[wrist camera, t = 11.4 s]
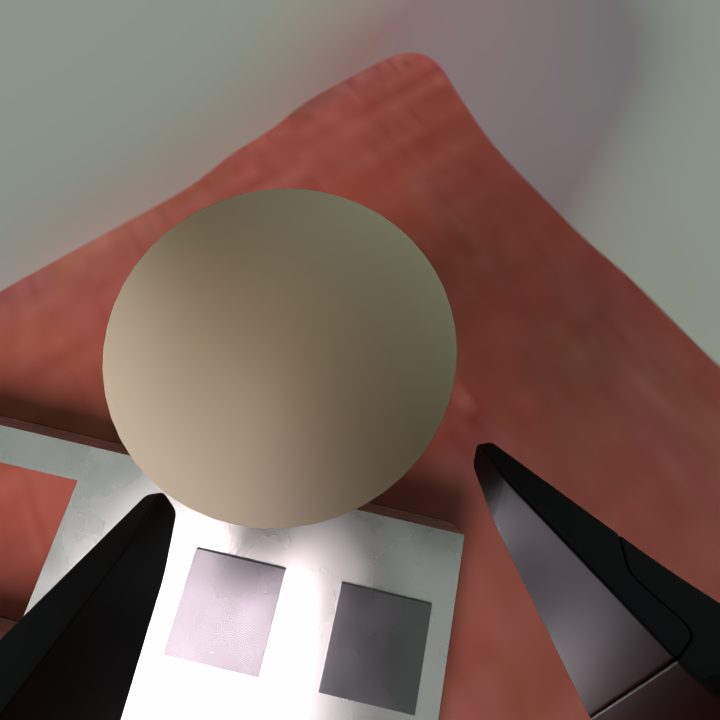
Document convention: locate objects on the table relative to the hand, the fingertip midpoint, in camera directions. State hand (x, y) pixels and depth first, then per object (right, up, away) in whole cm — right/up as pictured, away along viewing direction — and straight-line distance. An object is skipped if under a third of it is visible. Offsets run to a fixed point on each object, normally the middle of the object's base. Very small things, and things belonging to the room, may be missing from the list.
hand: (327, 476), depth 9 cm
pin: (-1, +1, +8) cm, 8 cm away
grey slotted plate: (-8, -7, +6) cm, 12 cm away
